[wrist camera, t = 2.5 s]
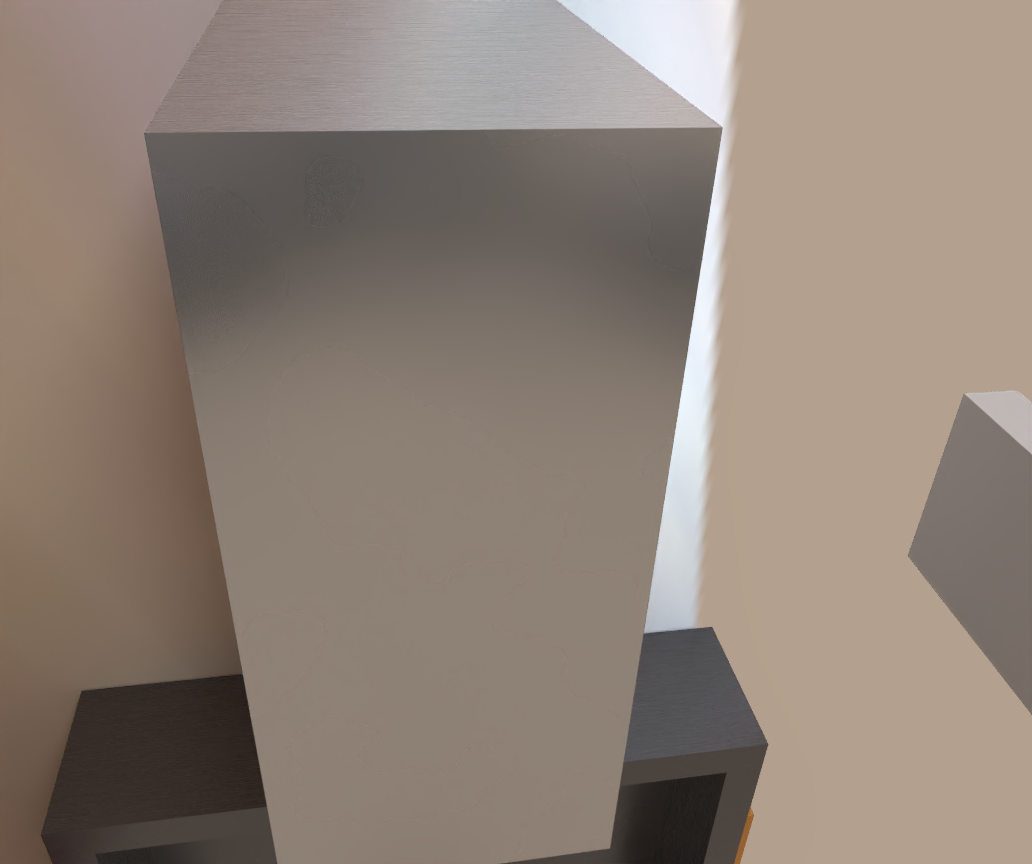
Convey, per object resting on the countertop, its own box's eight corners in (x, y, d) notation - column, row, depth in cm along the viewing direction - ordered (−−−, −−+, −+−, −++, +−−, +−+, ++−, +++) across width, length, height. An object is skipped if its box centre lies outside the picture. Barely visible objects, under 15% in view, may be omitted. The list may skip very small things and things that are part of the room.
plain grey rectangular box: (298, 520, 19) (282, 893, 12) (235, -18, 13) (143, 132, 7) (514, 503, 20) (610, 848, 13) (537, -14, 14) (722, 127, 7)
